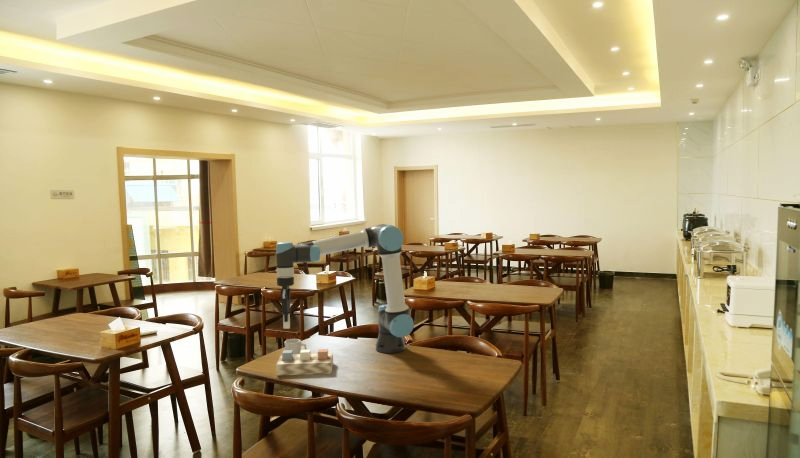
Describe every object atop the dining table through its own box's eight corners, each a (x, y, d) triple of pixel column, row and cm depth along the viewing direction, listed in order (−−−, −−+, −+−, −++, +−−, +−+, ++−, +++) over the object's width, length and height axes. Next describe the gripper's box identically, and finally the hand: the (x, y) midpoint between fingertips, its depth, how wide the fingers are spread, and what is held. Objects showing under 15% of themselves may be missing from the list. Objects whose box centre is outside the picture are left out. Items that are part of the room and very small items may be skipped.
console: (333, 363, 246) (332, 353, 245) (331, 373, 232) (330, 362, 231) (281, 365, 244) (281, 354, 244) (276, 375, 230) (276, 364, 230)
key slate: (293, 360, 239) (292, 350, 239) (291, 363, 235) (291, 352, 235) (283, 360, 239) (283, 350, 239) (282, 363, 235) (282, 353, 235)
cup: (308, 354, 260) (308, 338, 259) (304, 359, 252) (303, 343, 251) (287, 354, 261) (287, 338, 260) (282, 359, 253) (282, 343, 253)
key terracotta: (328, 359, 240) (327, 348, 240) (327, 362, 236) (327, 351, 236) (318, 359, 240) (318, 349, 240) (318, 362, 236) (317, 351, 236)
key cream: (310, 359, 240) (310, 349, 240) (309, 362, 236) (309, 352, 235) (301, 360, 240) (301, 349, 239) (300, 362, 236) (300, 352, 235)
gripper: (279, 274, 241) (280, 324, 242) (274, 279, 228) (275, 332, 229) (295, 274, 241) (296, 324, 243) (291, 278, 228) (293, 331, 230)
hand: (286, 328), depth 236 cm, fingers closed
